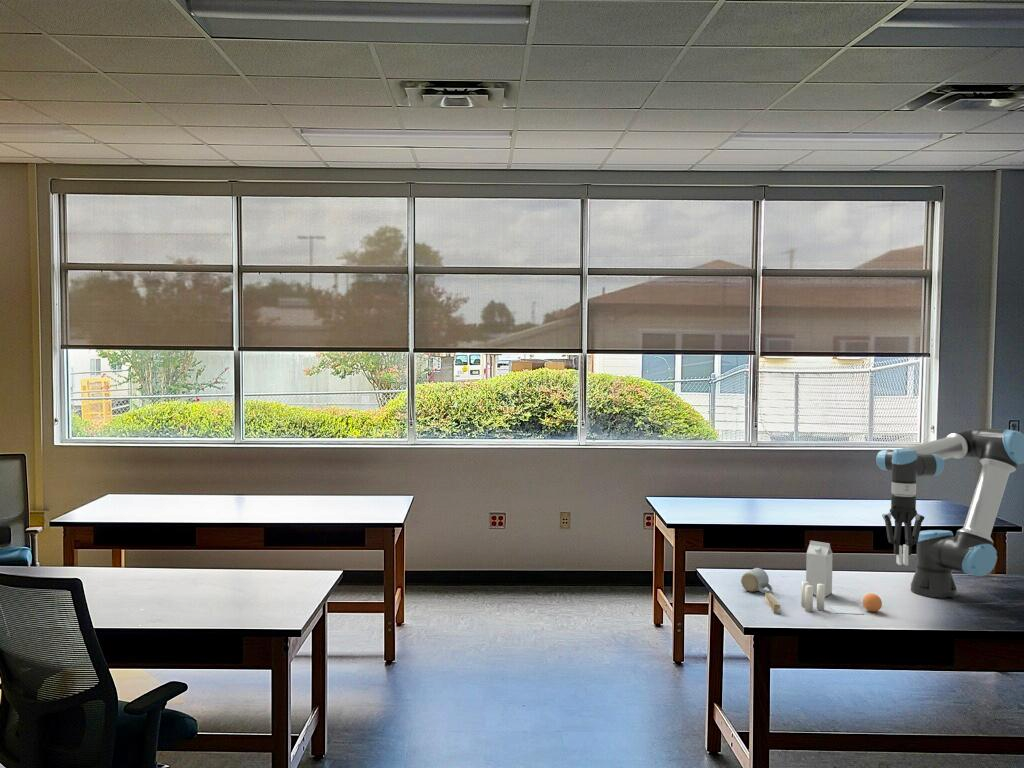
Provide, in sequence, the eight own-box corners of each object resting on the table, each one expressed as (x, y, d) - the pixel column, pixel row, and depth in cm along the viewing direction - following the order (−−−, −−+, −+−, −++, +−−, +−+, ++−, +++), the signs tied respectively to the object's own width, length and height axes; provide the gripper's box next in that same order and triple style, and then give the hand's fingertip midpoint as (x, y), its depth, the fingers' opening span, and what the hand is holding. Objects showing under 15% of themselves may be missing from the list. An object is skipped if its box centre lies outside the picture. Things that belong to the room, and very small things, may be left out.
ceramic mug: (739, 590, 293) (740, 569, 293) (750, 586, 299) (750, 565, 299) (766, 596, 286) (766, 575, 286) (776, 592, 292) (777, 571, 292)
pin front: (823, 608, 272) (823, 583, 272) (825, 610, 269) (825, 585, 269) (815, 608, 272) (816, 583, 272) (817, 610, 270) (818, 585, 269)
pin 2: (811, 610, 270) (811, 585, 270) (813, 612, 267) (813, 587, 267) (804, 609, 270) (804, 585, 270) (806, 611, 268) (806, 586, 267)
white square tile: (855, 607, 273) (856, 606, 273) (863, 614, 265) (863, 613, 265) (829, 606, 274) (829, 605, 274) (836, 613, 266) (836, 612, 266)
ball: (878, 609, 272) (878, 591, 272) (884, 614, 266) (884, 596, 266) (859, 608, 272) (860, 591, 272) (865, 613, 266) (866, 595, 266)
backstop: (770, 601, 279) (770, 593, 279) (780, 613, 265) (780, 604, 265) (765, 601, 279) (765, 592, 279) (774, 613, 265) (774, 604, 265)
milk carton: (812, 589, 295) (813, 539, 295) (831, 593, 291) (832, 541, 290) (805, 593, 290) (806, 542, 289) (825, 597, 285) (826, 545, 285)
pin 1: (807, 605, 275) (807, 581, 275) (809, 607, 272) (809, 583, 272) (800, 605, 275) (800, 581, 275) (802, 607, 273) (802, 582, 272)
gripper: (885, 496, 264) (884, 566, 265) (930, 497, 263) (929, 567, 263) (877, 492, 272) (876, 560, 272) (921, 493, 270) (919, 562, 271)
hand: (902, 564), depth 268 cm, fingers closed
